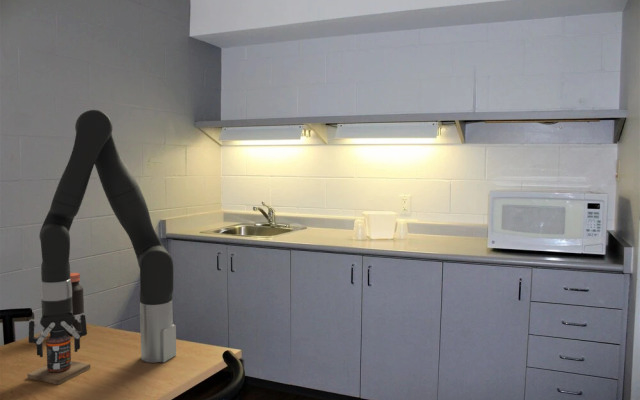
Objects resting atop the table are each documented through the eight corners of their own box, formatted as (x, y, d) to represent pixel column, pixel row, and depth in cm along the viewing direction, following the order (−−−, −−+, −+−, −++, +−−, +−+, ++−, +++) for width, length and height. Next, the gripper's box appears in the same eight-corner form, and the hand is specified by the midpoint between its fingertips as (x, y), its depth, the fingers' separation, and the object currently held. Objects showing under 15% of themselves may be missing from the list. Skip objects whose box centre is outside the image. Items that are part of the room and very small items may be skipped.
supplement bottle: (61, 374, 140) (59, 333, 138) (42, 372, 141) (40, 332, 140) (76, 365, 145) (74, 326, 144) (57, 363, 147) (55, 324, 146)
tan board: (90, 368, 146) (90, 364, 146) (59, 384, 136) (58, 380, 136) (60, 362, 150) (60, 358, 150) (27, 378, 140) (27, 373, 140)
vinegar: (77, 327, 181) (76, 271, 179) (88, 331, 177) (86, 274, 175) (58, 332, 175) (56, 274, 173) (69, 337, 171) (67, 277, 169)
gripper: (26, 302, 135) (28, 363, 136) (86, 296, 141) (88, 353, 143) (27, 295, 141) (29, 353, 143) (84, 289, 148) (86, 345, 149)
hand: (59, 353), depth 143 cm, fingers open, 8 cm apart
